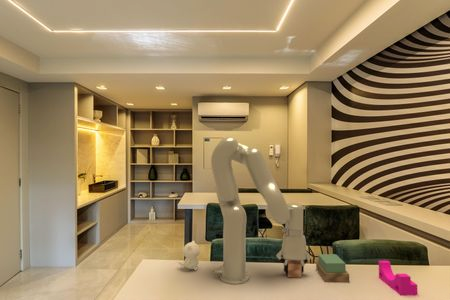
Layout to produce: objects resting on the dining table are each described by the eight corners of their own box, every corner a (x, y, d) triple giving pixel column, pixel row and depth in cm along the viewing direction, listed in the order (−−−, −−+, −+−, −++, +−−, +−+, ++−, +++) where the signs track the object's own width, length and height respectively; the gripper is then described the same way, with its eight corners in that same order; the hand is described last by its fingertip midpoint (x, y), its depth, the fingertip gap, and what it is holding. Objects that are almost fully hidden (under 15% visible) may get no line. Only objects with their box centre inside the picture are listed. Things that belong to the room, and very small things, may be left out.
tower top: (326, 273, 115) (326, 263, 115) (318, 263, 125) (318, 254, 125) (345, 273, 115) (345, 263, 115) (336, 263, 125) (336, 254, 125)
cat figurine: (197, 273, 123) (197, 246, 123) (174, 271, 124) (174, 245, 124) (202, 265, 131) (201, 240, 131) (180, 264, 133) (180, 238, 133)
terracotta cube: (288, 277, 118) (288, 264, 118) (286, 271, 124) (286, 259, 124) (301, 277, 118) (301, 264, 118) (298, 272, 123) (298, 259, 123)
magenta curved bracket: (417, 296, 103) (417, 276, 103) (400, 296, 103) (400, 276, 103) (393, 278, 118) (393, 260, 118) (378, 278, 118) (378, 260, 118)
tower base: (324, 283, 114) (324, 273, 114) (316, 270, 126) (316, 262, 126) (349, 283, 114) (349, 274, 114) (338, 271, 126) (338, 262, 126)
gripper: (275, 234, 118) (274, 276, 118) (316, 235, 117) (315, 278, 117) (273, 229, 125) (272, 269, 125) (311, 230, 124) (311, 270, 124)
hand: (293, 273), depth 121 cm, fingers closed on terracotta cube, 5 cm apart
